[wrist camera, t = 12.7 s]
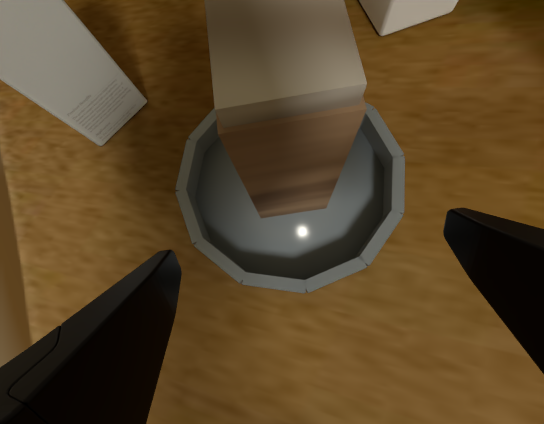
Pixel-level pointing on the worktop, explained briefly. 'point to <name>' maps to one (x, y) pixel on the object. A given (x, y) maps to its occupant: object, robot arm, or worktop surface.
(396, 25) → the medicine bottle
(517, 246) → the robot arm
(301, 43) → the walnut block
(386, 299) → the worktop surface
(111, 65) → the skincare box
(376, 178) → the slate dish
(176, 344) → the worktop surface
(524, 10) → the worktop surface
